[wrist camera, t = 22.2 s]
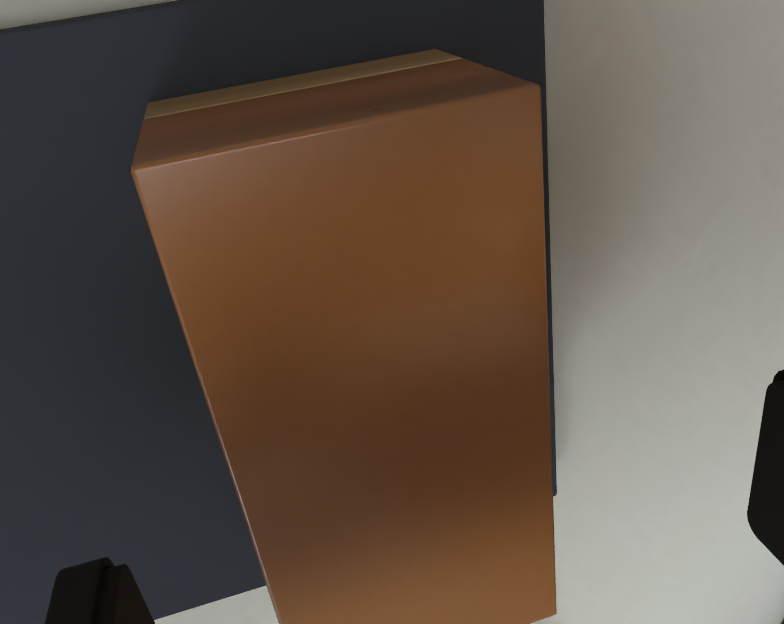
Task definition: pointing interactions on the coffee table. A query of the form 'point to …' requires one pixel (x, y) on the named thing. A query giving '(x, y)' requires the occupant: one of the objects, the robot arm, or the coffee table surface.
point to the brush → (370, 330)
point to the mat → (153, 277)
